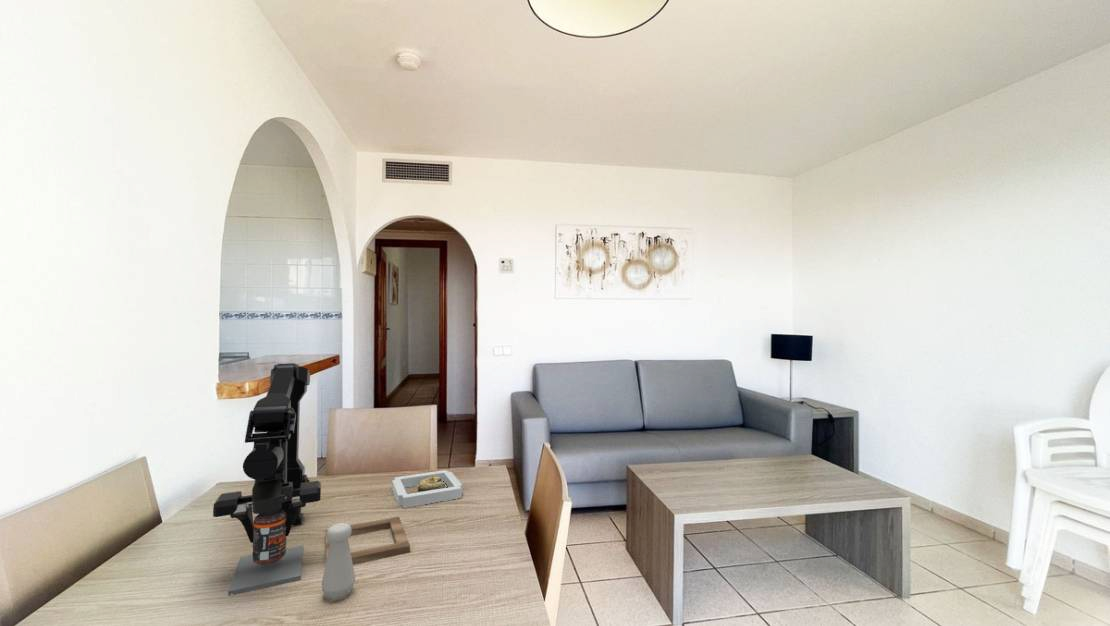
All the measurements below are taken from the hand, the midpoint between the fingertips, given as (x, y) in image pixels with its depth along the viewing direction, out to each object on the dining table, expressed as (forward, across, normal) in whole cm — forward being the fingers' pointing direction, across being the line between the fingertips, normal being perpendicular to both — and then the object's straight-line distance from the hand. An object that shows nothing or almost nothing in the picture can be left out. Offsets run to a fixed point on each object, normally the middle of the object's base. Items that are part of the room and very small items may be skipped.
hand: (269, 538), depth 95 cm
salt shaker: (+7, +13, -16) cm, 21 cm away
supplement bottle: (+4, 0, 0) cm, 4 cm away
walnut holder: (+6, +19, +3) cm, 20 cm away
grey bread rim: (+7, +38, +29) cm, 48 cm away
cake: (+7, +40, +29) cm, 50 cm away
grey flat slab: (+6, 0, 0) cm, 6 cm away
